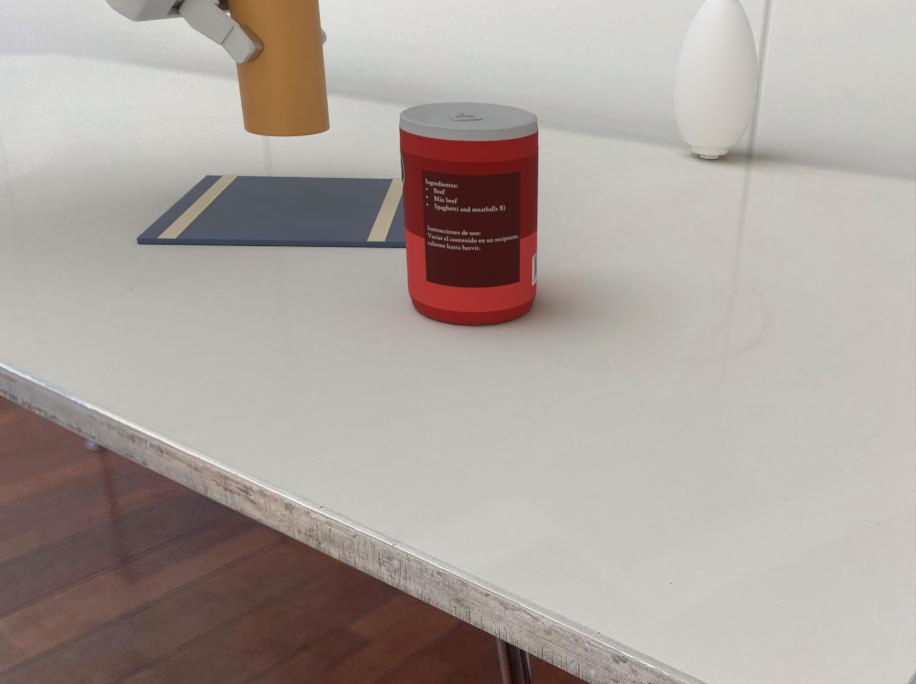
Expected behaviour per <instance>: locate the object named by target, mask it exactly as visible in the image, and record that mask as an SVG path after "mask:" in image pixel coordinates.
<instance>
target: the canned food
mask: <svg viewBox="0 0 916 684" xmlns="http://www.w3.org/2000/svg"><path fill="white" fill-rule="evenodd" d="M398 130H399V131H398V133H399V154H400V155H399V157H400V170H401V171H400V172H401V173H400V175H401V178H402V191H403V208H404V225H405V242H406V247H405V257H406V273H407V290H408V295H409V297H410V301H411V303H412V305H413V307H414V308H415V310H416V311H418V312H419V313H420V314H422V315H424V316H426V317H427V318H430V319H432V320H436V321H439V322H443V323H448V324H455V325H466V326H481V325H483V326H485V325H494V324H500V323H505V322H509V321H513V320H516V319H517V318H520V317H522V316H524V315H525V314H526V313H527V312H529V311H530V310H531V309H532V307H533V305H534V302H535V298H536V295H537V290H538V289H537V288H538V287H537V285H538V284H537V283H538V281H537V280H538V220H539V219H538V212H539V154H540V153H539V147H540V146H539V125H538V116H537V115H536V114H535V113H533V112H531V111H529V110H526V109H524V108H520V107H516V106H512V105H505V104H497V103H487V102H470V101H468V102H464V101H453V102H452V101H451V102H450V101H449V102H434V103H424V104H418V105H413V106H411V107H408V108H405V109H404V110H402V111H401V112H400V113H399V122H398Z"/></svg>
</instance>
